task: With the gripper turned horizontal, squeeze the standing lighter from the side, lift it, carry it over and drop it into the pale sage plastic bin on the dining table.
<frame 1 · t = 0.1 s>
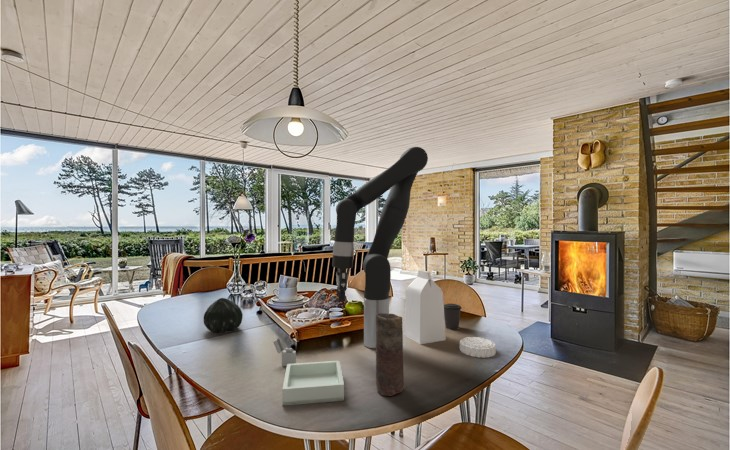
hand: (340, 299, 120), 17 cm above the table, tool pointing down, fingers open, 8 cm apart
milk: (424, 337, 130), on the table
coffee cup: (452, 328, 143), on the table
mooncake: (477, 352, 116), on the table
candle: (389, 390, 88), on the table
lighter: (284, 365, 105), on the table
squash: (223, 331, 139), on the table
bin: (313, 388, 89), on the table
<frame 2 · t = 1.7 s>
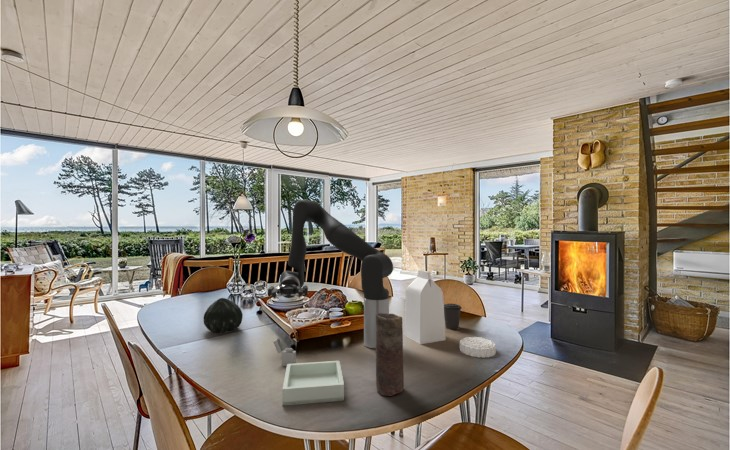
hand: (287, 294, 116), 20 cm above the table, tool horizontal, fingers open, 8 cm apart
nothing on the table moved.
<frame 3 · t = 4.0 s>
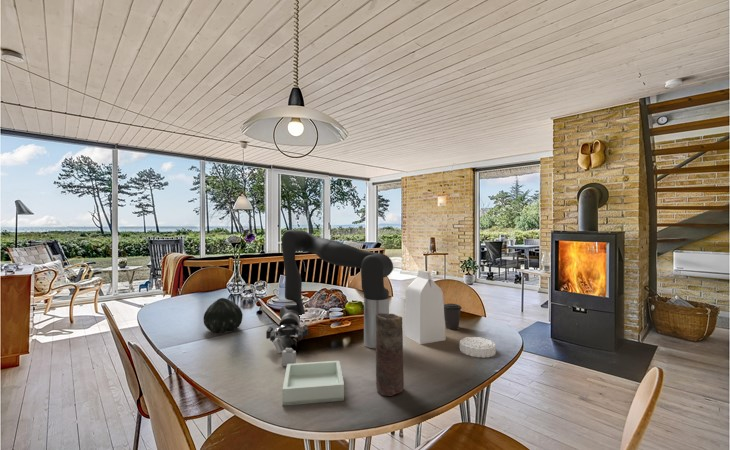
hand: (286, 338, 111), 6 cm above the table, tool horizontal, fingers open, 8 cm apart
nothing on the table moved.
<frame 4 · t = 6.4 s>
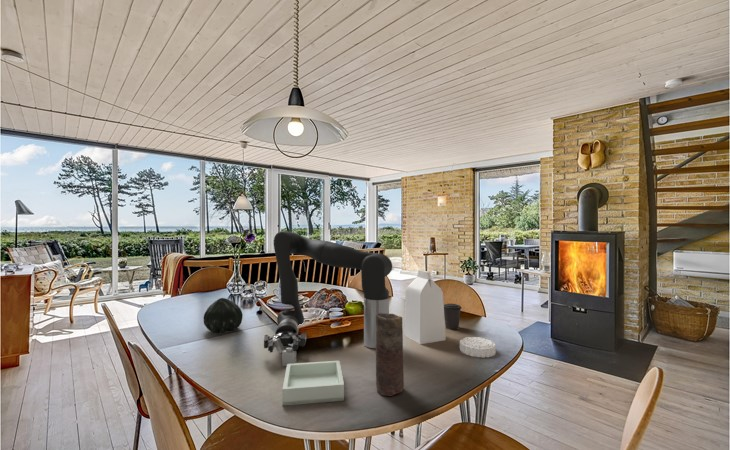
hand: (282, 348, 102), 6 cm above the table, tool horizontal, fingers closed on lighter, 6 cm apart
lighter: (284, 365, 104), on the table, touching gripper
everything else where it was.
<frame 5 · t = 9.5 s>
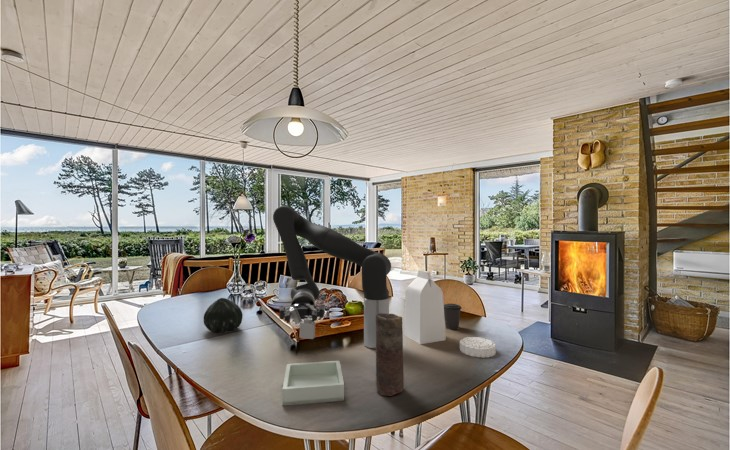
hand: (300, 318, 92), 18 cm above the table, tool horizontal, fingers closed on lighter, 6 cm apart
lighter: (302, 337, 95), point 12 cm above the table, touching gripper
everything else where it was.
when the fingers open (9 cm above the table, at t = 12.7 s): lighter drops 2 cm, resting on bin.
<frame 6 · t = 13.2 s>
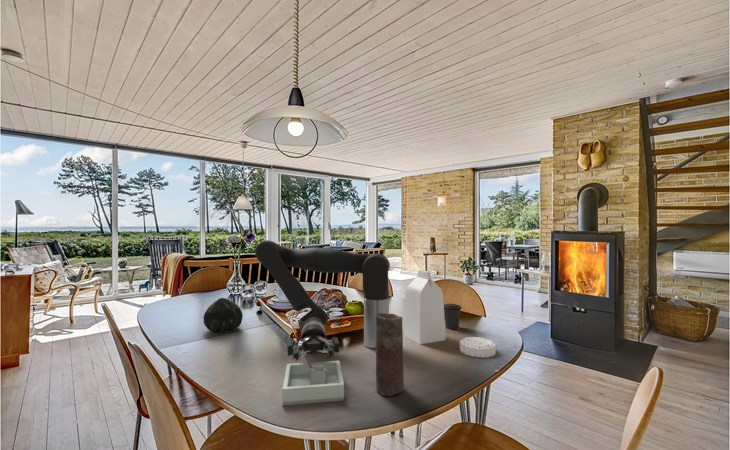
hand: (313, 355, 87), 10 cm above the table, tool horizontal, fingers open, 8 cm apart
lighter: (313, 385, 90), point 1 cm above the table, touching bin
everything else where it was.
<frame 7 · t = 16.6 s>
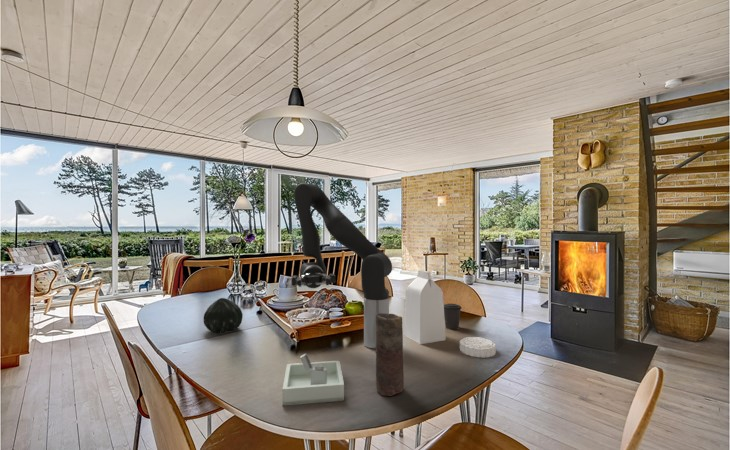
hand: (313, 282, 104), 26 cm above the table, tool horizontal, fingers open, 8 cm apart
nothing on the table moved.
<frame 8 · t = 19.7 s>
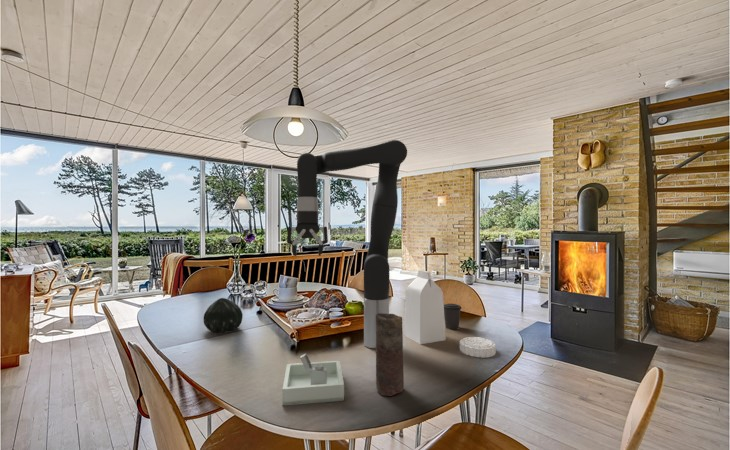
hand: (307, 255, 119), 33 cm above the table, tool pointing down, fingers open, 8 cm apart
nothing on the table moved.
at the end: lighter inside the target area on the bin (0.4 cm from its centre), point 0.6 cm above the bin's base; the gripper is holding nothing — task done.
